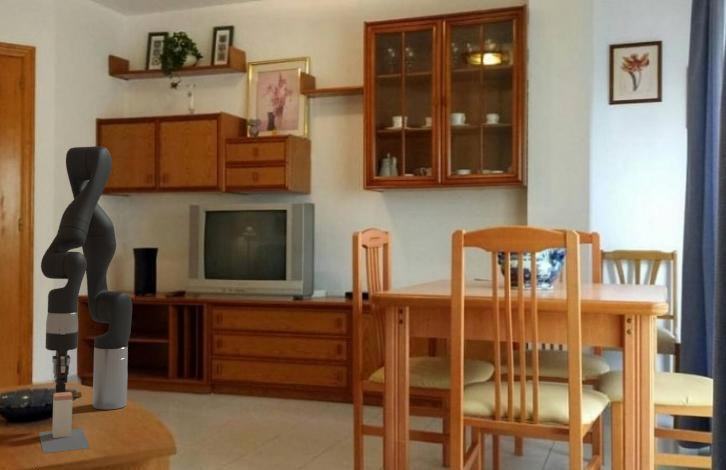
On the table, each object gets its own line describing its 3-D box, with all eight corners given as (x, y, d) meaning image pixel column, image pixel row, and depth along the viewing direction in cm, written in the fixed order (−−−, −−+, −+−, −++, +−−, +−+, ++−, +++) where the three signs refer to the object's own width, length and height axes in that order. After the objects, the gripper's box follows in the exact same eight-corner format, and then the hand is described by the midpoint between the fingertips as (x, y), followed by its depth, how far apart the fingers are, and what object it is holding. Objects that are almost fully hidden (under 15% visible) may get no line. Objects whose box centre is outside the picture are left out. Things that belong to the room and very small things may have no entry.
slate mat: (38, 434, 175) (38, 432, 175) (81, 430, 179) (81, 428, 179) (43, 455, 159) (43, 453, 159) (90, 450, 163) (90, 448, 163)
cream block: (52, 433, 174) (53, 393, 174) (69, 431, 176) (70, 391, 176) (53, 438, 170) (54, 396, 170) (71, 436, 172) (72, 395, 172)
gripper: (44, 327, 183) (42, 394, 183) (47, 334, 171) (45, 405, 171) (75, 326, 186) (73, 391, 186) (80, 333, 174) (78, 403, 174)
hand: (60, 398), depth 178 cm, fingers closed
